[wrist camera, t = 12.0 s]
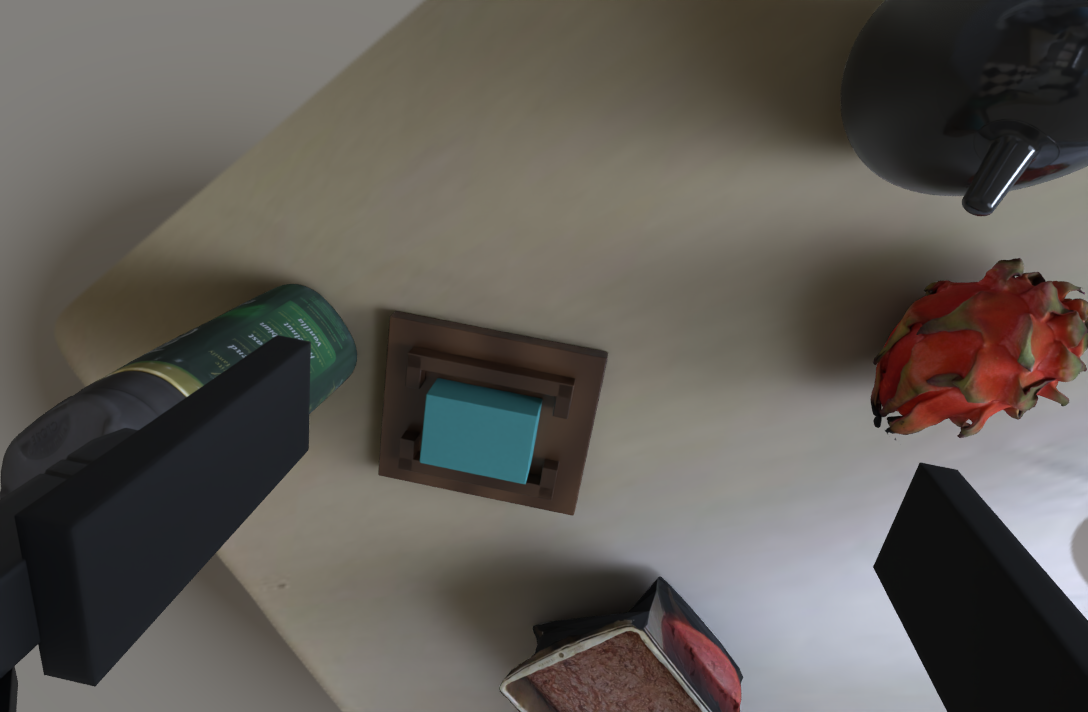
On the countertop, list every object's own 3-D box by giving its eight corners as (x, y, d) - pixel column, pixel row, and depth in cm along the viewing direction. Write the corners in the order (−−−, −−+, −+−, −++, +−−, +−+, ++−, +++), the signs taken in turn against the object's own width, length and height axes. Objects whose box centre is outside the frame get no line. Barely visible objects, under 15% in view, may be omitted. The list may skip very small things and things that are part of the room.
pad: (430, 443, 45) (418, 463, 42) (437, 377, 43) (425, 394, 40) (531, 463, 44) (525, 485, 42) (542, 398, 42) (537, 416, 40)
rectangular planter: (603, 724, 57) (618, 855, 48) (484, 601, 50) (476, 728, 41) (756, 659, 53) (802, 786, 45) (652, 518, 46) (682, 636, 38)
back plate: (383, 466, 47) (371, 484, 45) (395, 310, 43) (382, 322, 40) (575, 506, 46) (572, 526, 44) (608, 351, 42) (606, 366, 40)
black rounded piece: (776, 115, 36) (871, 130, 22) (921, -76, 32) (1152, -209, 18) (920, 222, 37) (1099, 303, 23) (1078, 51, 33) (1411, 19, 19)
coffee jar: (306, 260, 42) (84, 375, 25) (379, 360, 44) (220, 530, 27) (202, 331, 45) (-62, 477, 28) (276, 422, 47) (72, 610, 30)
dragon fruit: (1043, 260, 38) (856, 373, 44) (1009, 194, 33) (800, 334, 38) (1158, 376, 33) (930, 487, 39) (1141, 322, 28) (878, 461, 33)
